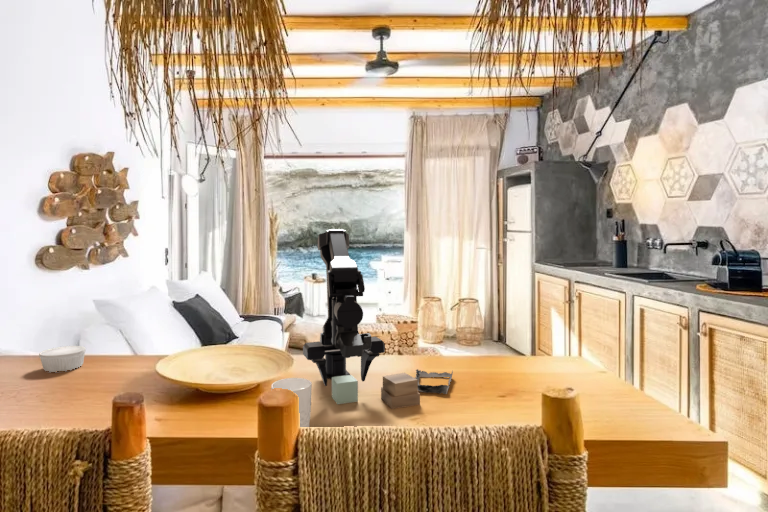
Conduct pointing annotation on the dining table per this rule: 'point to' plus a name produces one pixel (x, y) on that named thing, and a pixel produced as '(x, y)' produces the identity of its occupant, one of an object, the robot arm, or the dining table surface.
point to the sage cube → (344, 389)
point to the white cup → (299, 395)
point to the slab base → (400, 399)
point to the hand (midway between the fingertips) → (344, 383)
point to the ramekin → (62, 358)
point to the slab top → (400, 384)
